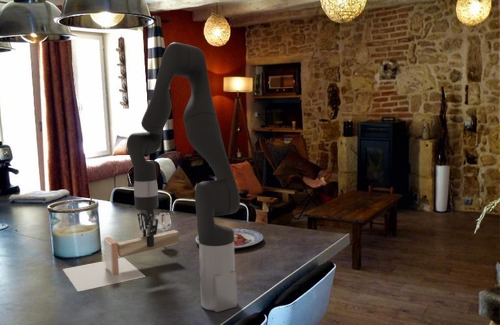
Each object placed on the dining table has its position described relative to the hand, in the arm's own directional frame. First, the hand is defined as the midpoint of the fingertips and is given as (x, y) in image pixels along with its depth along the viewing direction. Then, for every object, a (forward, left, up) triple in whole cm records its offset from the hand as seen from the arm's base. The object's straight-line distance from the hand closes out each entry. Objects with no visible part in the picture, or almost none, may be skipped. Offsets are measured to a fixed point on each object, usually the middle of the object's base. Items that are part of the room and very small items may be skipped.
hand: (148, 245), depth 156 cm
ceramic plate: (+8, -35, -8) cm, 36 cm away
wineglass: (+19, -13, -7) cm, 24 cm away
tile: (0, +12, -6) cm, 14 cm away
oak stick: (0, 0, -1) cm, 1 cm away
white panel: (0, +15, -7) cm, 17 cm away
